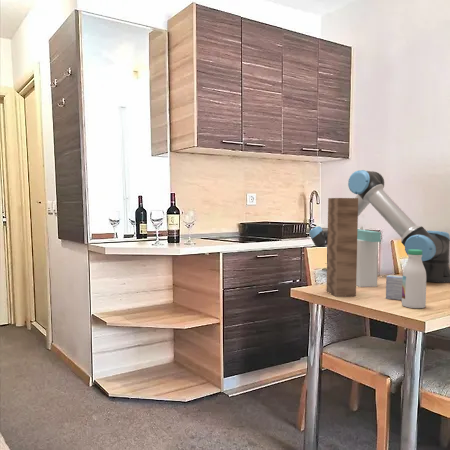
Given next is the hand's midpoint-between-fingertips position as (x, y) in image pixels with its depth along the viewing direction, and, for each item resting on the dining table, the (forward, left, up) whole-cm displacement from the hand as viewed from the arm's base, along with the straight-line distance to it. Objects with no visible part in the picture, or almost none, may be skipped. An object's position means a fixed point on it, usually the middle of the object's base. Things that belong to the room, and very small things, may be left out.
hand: (350, 228), depth 205 cm
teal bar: (-8, +11, -4) cm, 15 cm away
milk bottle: (-30, +45, -24) cm, 60 cm away
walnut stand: (-3, +36, -24) cm, 44 cm away
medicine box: (-24, +35, -25) cm, 49 cm away
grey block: (-8, +11, -24) cm, 28 cm away
